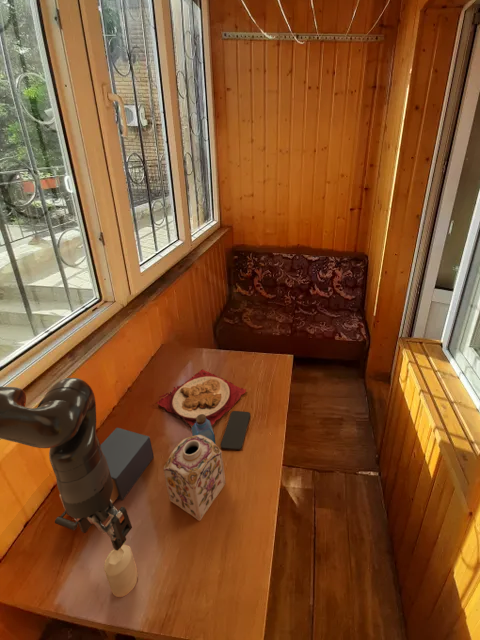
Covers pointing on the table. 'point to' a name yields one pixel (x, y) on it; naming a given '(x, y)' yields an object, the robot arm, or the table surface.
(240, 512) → the table surface
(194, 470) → the decorative jar
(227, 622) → the table surface
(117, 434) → the cabinet
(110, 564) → the candle
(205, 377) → the plate with food
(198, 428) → the perfume bottle
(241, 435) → the phone
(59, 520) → the drawer
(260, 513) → the table surface
